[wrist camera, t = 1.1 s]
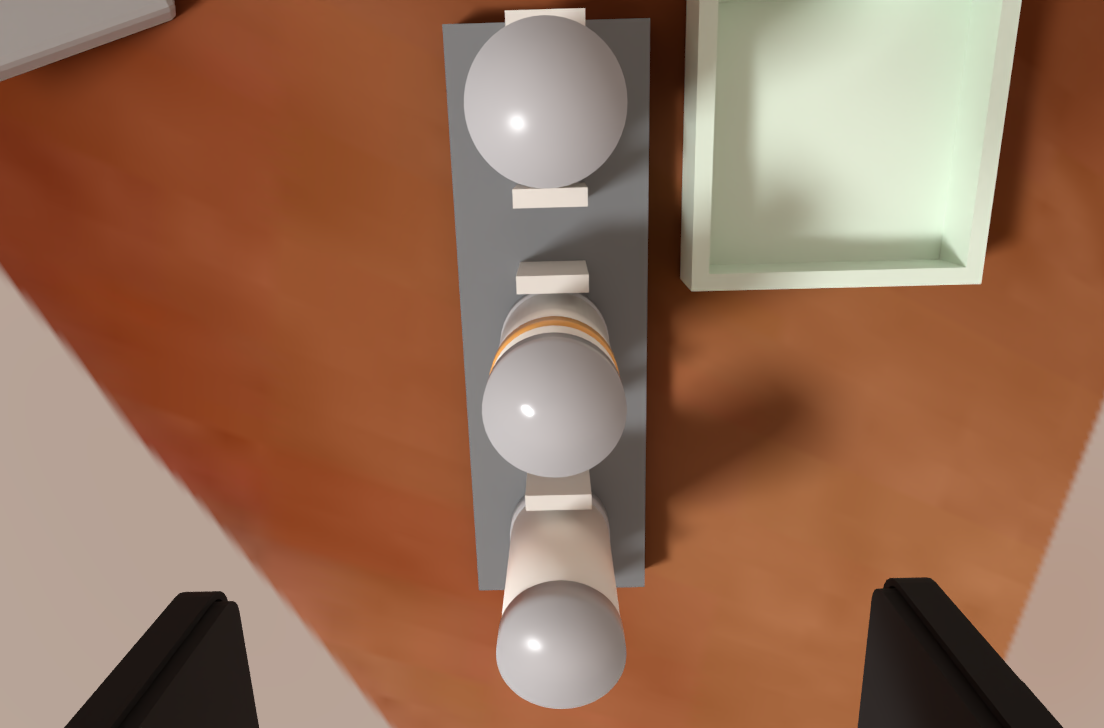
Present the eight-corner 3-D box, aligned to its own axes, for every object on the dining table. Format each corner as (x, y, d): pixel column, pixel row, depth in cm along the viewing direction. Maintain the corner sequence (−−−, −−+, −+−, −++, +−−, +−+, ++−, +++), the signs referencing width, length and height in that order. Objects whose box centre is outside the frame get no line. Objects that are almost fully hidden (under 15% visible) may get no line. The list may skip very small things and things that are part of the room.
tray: (686, -13, 26) (700, -29, 23) (982, -22, 25) (1027, -39, 23) (679, 278, 29) (691, 291, 26) (945, 271, 28) (981, 283, 26)
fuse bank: (447, 29, 26) (391, -28, 17) (646, 23, 26) (692, -37, 17) (481, 574, 32) (454, 736, 24) (641, 570, 32) (673, 732, 23)
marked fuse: (499, 286, 27) (477, 343, 20) (607, 283, 27) (627, 339, 20) (504, 388, 29) (485, 479, 21) (607, 385, 29) (626, 476, 21)
